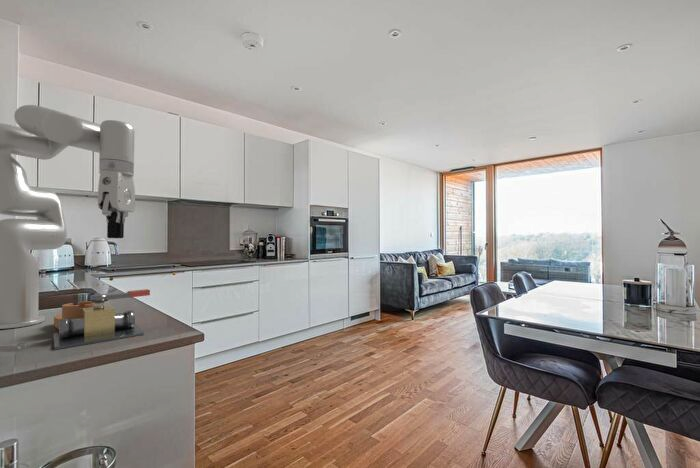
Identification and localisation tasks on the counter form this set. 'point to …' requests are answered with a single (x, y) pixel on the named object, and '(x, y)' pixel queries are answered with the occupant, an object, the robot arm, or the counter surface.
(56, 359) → the counter surface
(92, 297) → the lever
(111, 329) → the valve
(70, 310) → the bracket
